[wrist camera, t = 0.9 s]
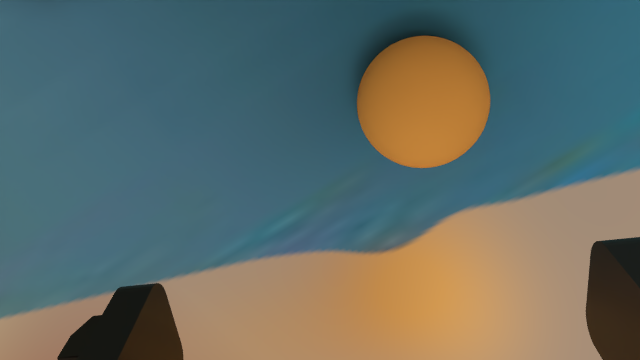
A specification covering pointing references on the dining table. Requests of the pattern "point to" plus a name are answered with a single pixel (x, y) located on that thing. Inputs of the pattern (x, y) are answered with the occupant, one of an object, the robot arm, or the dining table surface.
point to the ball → (423, 101)
